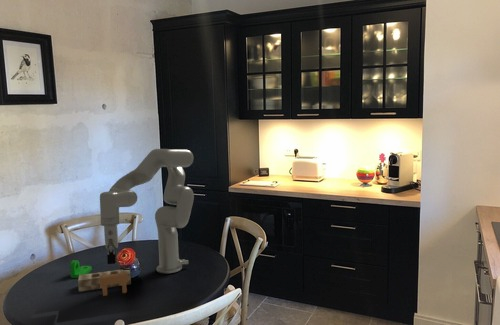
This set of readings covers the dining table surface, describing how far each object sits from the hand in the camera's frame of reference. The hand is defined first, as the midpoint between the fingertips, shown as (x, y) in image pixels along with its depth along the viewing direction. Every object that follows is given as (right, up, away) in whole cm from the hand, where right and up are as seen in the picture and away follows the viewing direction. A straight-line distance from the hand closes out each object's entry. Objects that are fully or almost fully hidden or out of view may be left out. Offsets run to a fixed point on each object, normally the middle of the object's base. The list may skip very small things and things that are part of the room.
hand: (111, 260), depth 177 cm
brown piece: (+1, -15, +2) cm, 15 cm away
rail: (-7, -14, +11) cm, 19 cm away
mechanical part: (-23, -13, +26) cm, 37 cm away
